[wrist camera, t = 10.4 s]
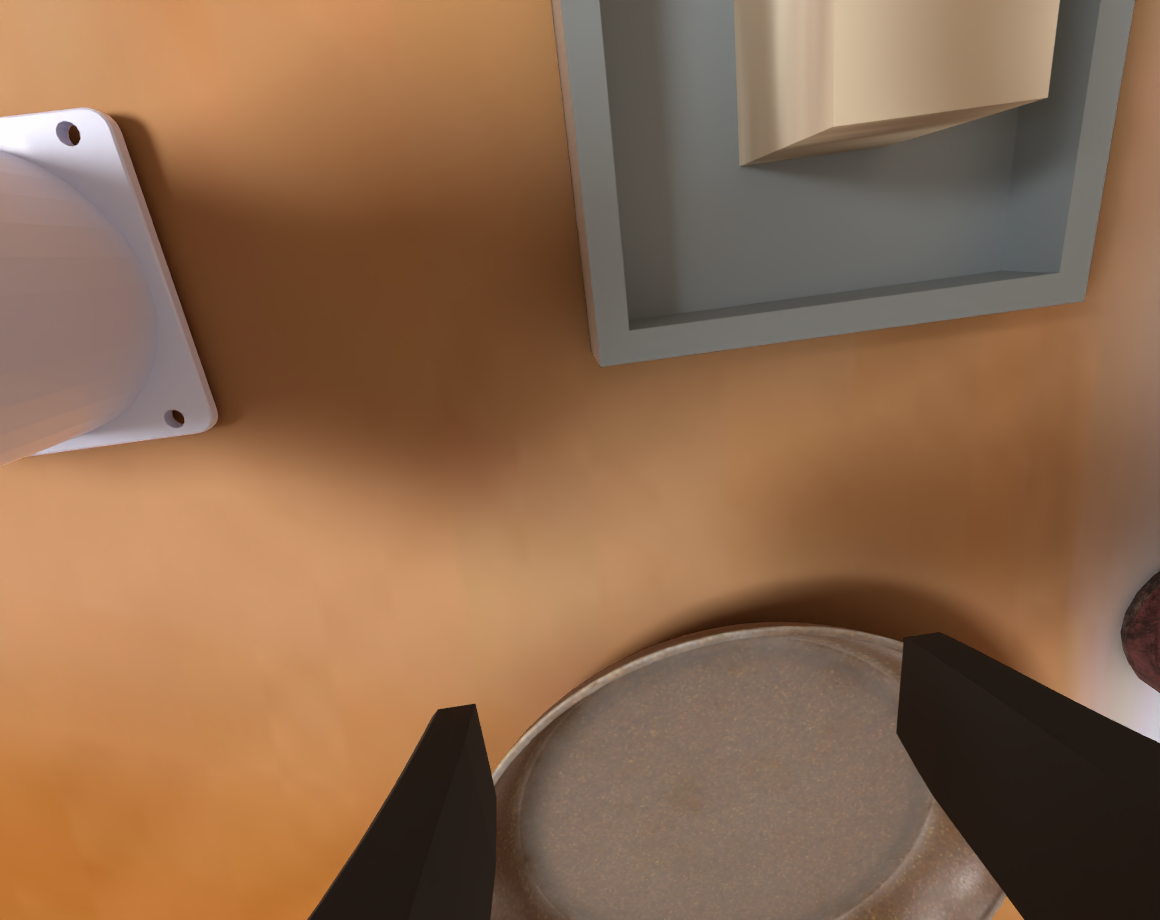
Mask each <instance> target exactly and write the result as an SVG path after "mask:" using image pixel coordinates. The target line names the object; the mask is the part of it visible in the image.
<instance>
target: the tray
mask: <svg viewBox="0 0 1160 920" xmlns="http://www.w3.org/2000/svg"><path fill="white" fill-rule="evenodd" d="M551 4H552V13H553V22H554V31H555V39H556V48H557V57H558V66H559V74H560V83H561V92H562V101H563V109H564V118H565V127H566V135H567V144H568V153H569V162H570V170H571V179H572V188H573V197H574V205H575V214H576V223H577V232H578V240H579V249H580V258H581V267H582V275H583V284H584V293H585V301H586V310H587V319H588V328H589V336H590V345H591V352H592V354H593V355H594V357H595V358H596V360H597V362H598V363H599V365H600V367H605V366H613V365H620V364H627V363H635V362H642V361H649V360H657V359H664V358H671V357H679V356H686V355H694V354H701V353H708V352H716V351H723V350H730V349H738V348H745V347H752V346H760V345H767V344H774V343H782V342H789V341H796V340H804V339H811V338H818V337H826V336H833V335H840V334H848V333H855V332H863V331H870V330H877V329H885V328H892V327H899V326H907V325H914V324H921V323H929V322H936V321H943V320H951V319H958V318H965V317H973V316H980V315H987V314H995V313H1002V312H1009V311H1017V310H1024V309H1032V308H1039V307H1046V306H1054V305H1061V304H1068V303H1076V302H1083V301H1085V295H1086V289H1087V283H1088V277H1089V272H1090V266H1091V260H1092V254H1093V248H1094V242H1095V236H1096V230H1097V224H1098V218H1099V212H1100V206H1101V200H1102V194H1103V188H1104V182H1105V176H1106V170H1107V164H1108V159H1109V153H1110V147H1111V141H1112V135H1113V129H1114V123H1115V117H1116V111H1117V105H1118V99H1119V93H1120V87H1121V81H1122V75H1123V69H1124V63H1125V57H1126V51H1127V46H1128V40H1129V34H1130V28H1131V22H1132V16H1133V10H1134V4H1135V0H1060V3H1059V11H1058V19H1057V27H1056V35H1055V44H1054V52H1053V60H1052V68H1051V76H1050V84H1049V92H1048V98H1045V99H1042V100H1038V101H1035V102H1032V103H1028V104H1025V105H1022V106H1019V107H1015V108H1012V109H1009V110H1005V111H1002V112H999V113H995V114H992V115H989V116H986V117H982V118H979V119H976V120H972V121H969V122H966V123H962V124H959V125H956V126H953V127H949V128H946V129H943V130H939V131H936V132H933V133H929V134H926V135H923V136H920V137H916V138H913V139H910V140H906V141H903V142H900V143H896V144H893V145H890V146H883V147H876V148H869V149H862V150H854V151H847V152H840V153H832V154H825V155H818V156H811V157H803V158H796V159H789V160H781V161H774V162H767V163H760V164H752V165H745V166H739V138H738V109H737V81H736V52H735V23H734V0H551Z"/></svg>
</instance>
